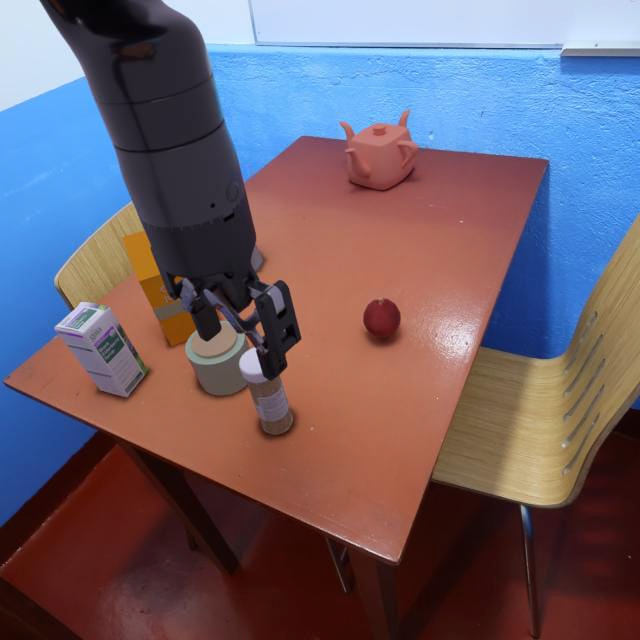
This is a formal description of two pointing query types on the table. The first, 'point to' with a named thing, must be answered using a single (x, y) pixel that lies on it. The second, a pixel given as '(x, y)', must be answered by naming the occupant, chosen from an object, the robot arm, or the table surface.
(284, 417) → the sprinkles bottle
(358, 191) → the table surface
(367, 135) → the pot
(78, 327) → the syrup box
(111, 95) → the robot arm
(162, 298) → the orange juice
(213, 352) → the pale green cylinder
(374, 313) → the onion
